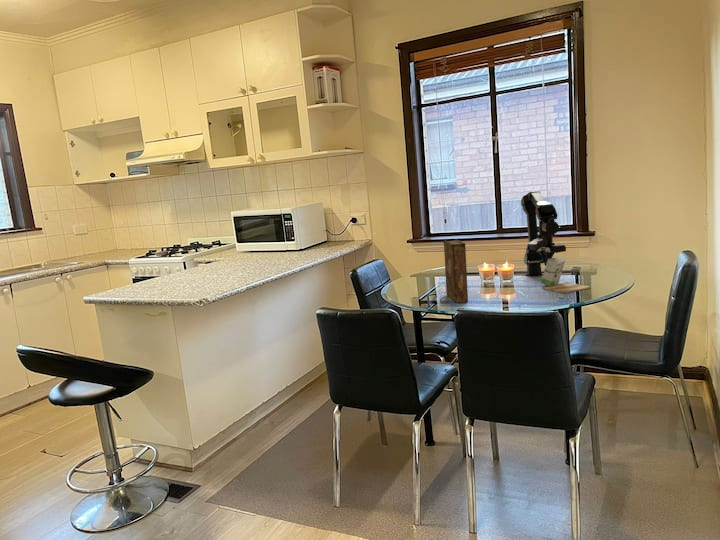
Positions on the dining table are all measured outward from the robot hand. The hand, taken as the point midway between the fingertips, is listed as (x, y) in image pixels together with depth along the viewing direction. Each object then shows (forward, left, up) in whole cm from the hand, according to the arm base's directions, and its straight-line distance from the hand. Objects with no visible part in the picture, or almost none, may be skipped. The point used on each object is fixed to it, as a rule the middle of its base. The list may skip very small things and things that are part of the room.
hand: (546, 266), depth 245 cm
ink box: (+1, 0, -8) cm, 8 cm away
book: (-6, -45, -9) cm, 46 cm away
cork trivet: (+12, 0, -9) cm, 15 cm away
